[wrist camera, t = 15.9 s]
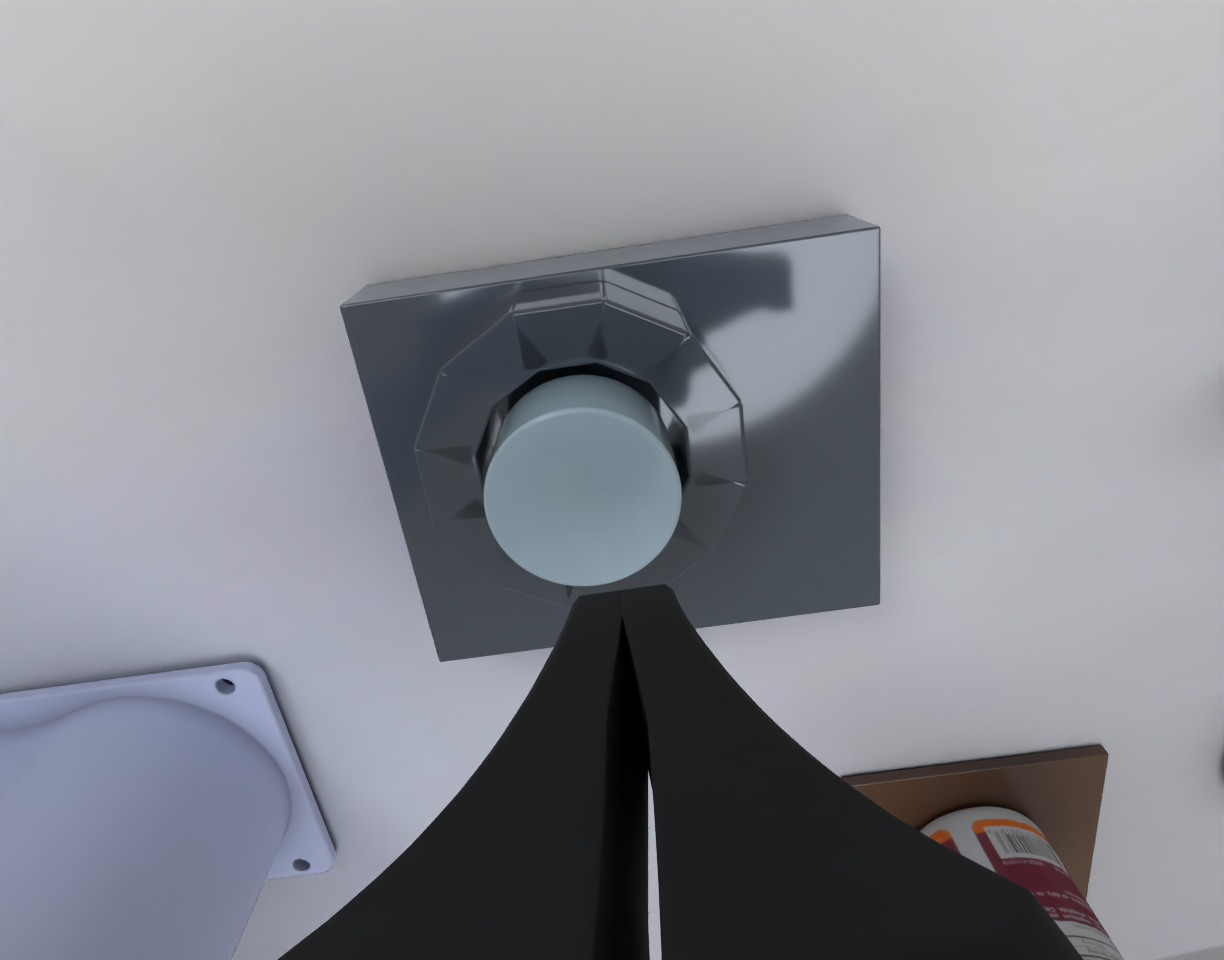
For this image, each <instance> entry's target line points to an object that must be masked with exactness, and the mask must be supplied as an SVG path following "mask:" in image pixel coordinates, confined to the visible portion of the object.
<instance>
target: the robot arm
mask: <svg viewBox="0 0 1224 960" xmlns="http://www.w3.org/2000/svg"><path fill="white" fill-rule="evenodd" d="M222 679H228V680H230V681H232V682H233V684H234V685H229V684H227V683H225V682H224V681H223V680H222ZM648 771H649V776H650V781H651V786H652V790H653V802H654V816H655V831H656V848H657V865H658V882H659V905H660V927H661V950H662V960H1084V959H1083V958H1082V957H1081V955H1080V954H1079V953H1078V951H1077V950H1076V949H1075V947H1074V946H1073V945H1072V943H1071V942H1070V941H1069V939H1068V938H1067V937H1066V935H1065V934H1064V933H1063V931H1062V930H1061V929H1060V928H1059V926H1058V925H1057V924H1056V922H1055V921H1054V920H1053V919H1052V917H1051V916H1050V915H1049V913H1048V912H1047V911H1046V910H1045V908H1044V907H1043V906H1042V905H1041V903H1040V902H1039V901H1038V900H1037V898H1036V897H1035V896H1034V895H1033V893H1032V892H1031V891H1029V890H1028V889H1026V888H1025V887H1023V886H1021V885H1019V884H1017V883H1015V882H1013V881H1011V880H1009V879H1007V878H1005V877H1003V876H1001V875H999V874H998V873H996V872H994V871H992V870H990V869H988V868H986V867H984V866H982V865H980V864H978V863H976V862H974V861H972V860H971V859H969V858H967V857H965V856H963V855H961V854H959V853H957V852H955V851H953V850H951V849H949V848H947V847H945V846H944V845H942V844H940V843H938V842H936V841H935V840H933V839H931V838H929V837H928V836H926V835H924V834H923V833H921V832H920V831H918V830H916V829H915V828H913V827H911V826H910V825H908V824H906V823H905V822H903V821H902V820H900V819H898V818H897V817H895V816H894V815H892V814H891V813H889V812H888V811H887V810H885V809H884V808H882V807H881V806H879V805H878V804H877V803H875V802H874V801H872V800H871V799H870V798H868V797H867V796H865V795H864V794H862V793H861V792H860V791H858V790H857V789H855V788H854V787H853V786H851V785H850V784H848V783H847V782H845V781H844V780H843V779H841V778H840V777H838V776H837V775H836V774H834V773H833V772H832V771H831V770H829V769H828V768H827V767H826V766H824V765H823V764H822V763H821V762H820V761H818V760H817V759H816V758H815V757H813V756H812V755H811V754H810V753H809V752H807V751H806V750H805V749H804V748H803V747H801V746H800V745H799V744H798V743H797V742H796V741H795V740H794V739H792V738H791V737H790V736H789V735H788V734H787V733H786V732H785V731H784V730H782V729H781V728H780V727H779V726H778V725H777V724H776V723H775V722H774V721H773V720H772V719H771V718H770V717H769V716H768V715H767V714H766V713H765V712H764V711H763V710H762V709H761V708H760V707H759V706H758V705H757V704H756V703H755V702H754V701H753V700H752V699H751V698H750V697H749V695H748V694H747V693H746V692H745V691H744V690H743V689H742V688H741V687H740V686H739V685H738V684H737V682H736V681H735V680H734V679H733V678H732V677H731V675H730V674H729V673H728V672H727V671H726V670H725V668H724V667H723V666H722V664H721V663H720V662H719V661H718V659H717V658H716V657H715V656H714V654H713V653H712V652H711V651H710V649H709V648H708V647H707V646H706V644H705V643H704V641H703V640H702V639H701V637H700V636H699V634H698V633H697V632H696V630H695V628H694V627H693V625H692V624H691V622H690V621H689V619H688V618H687V616H686V614H685V613H684V611H683V609H682V608H681V606H680V604H679V602H678V600H677V598H676V595H675V593H674V590H673V589H672V588H670V587H669V586H667V585H666V584H660V585H653V586H646V587H639V588H632V589H624V590H617V591H610V592H603V593H596V594H589V595H582V596H579V597H578V598H577V599H576V601H575V602H574V603H573V605H572V608H571V610H570V613H569V615H568V618H567V620H566V623H565V625H564V627H563V629H562V631H561V634H560V636H559V638H558V640H557V642H556V644H555V646H554V648H553V650H552V652H551V654H550V656H549V658H548V660H547V662H546V663H545V665H544V667H543V669H542V671H541V672H540V674H539V676H538V678H537V680H536V682H535V683H534V685H533V687H532V689H531V690H530V692H529V694H528V696H527V697H526V699H525V700H524V702H523V703H522V705H521V707H520V708H519V710H518V711H517V713H516V714H515V716H514V717H513V719H512V721H511V722H510V724H509V725H508V727H507V728H506V730H505V732H504V733H503V735H502V736H501V737H500V739H499V740H498V742H497V743H496V745H495V746H494V747H493V749H492V750H491V752H490V753H489V754H488V756H487V757H486V758H485V760H484V761H483V762H482V764H481V765H480V766H479V768H478V769H477V770H476V771H475V773H474V774H473V775H472V776H471V778H470V779H469V780H468V781H467V783H466V784H465V785H464V787H463V788H462V789H461V790H460V791H459V793H458V794H457V795H456V796H455V797H454V798H453V799H452V801H451V802H450V803H449V804H448V805H447V806H446V807H445V809H444V810H443V811H442V812H441V813H440V814H439V815H438V816H437V818H436V819H435V820H434V821H433V822H432V823H431V824H430V825H429V826H428V827H427V828H426V830H425V831H424V832H423V833H422V834H421V835H420V836H419V837H418V838H417V839H416V840H415V841H414V842H413V843H412V845H411V846H410V847H408V848H407V849H406V850H405V851H404V852H403V853H402V854H401V855H400V856H399V857H398V858H397V859H396V860H395V861H394V862H393V863H392V864H391V865H390V866H389V867H388V868H387V869H386V870H384V871H383V872H382V873H381V874H380V875H379V876H378V877H377V878H376V879H375V880H374V881H373V882H371V883H370V884H369V885H368V886H367V887H366V888H365V889H364V890H362V891H361V892H360V893H359V894H358V895H357V896H356V897H354V898H353V899H352V900H351V901H350V902H349V903H348V904H347V905H345V906H344V907H343V908H342V909H341V910H339V911H338V912H337V913H336V914H335V915H334V916H332V917H331V918H330V919H329V920H328V921H326V922H325V923H324V924H323V925H321V926H320V927H319V928H318V929H316V930H315V931H314V932H312V933H311V934H310V935H309V936H307V937H306V938H305V939H303V940H302V941H301V942H300V943H298V944H297V945H296V946H294V947H293V948H292V949H291V950H289V951H288V952H287V953H285V954H284V955H283V956H282V957H280V958H279V959H278V960H650V958H649V934H648ZM335 858H336V851H335V849H334V846H333V844H332V841H331V839H330V836H329V833H328V831H327V828H326V826H325V823H324V821H323V818H322V816H321V813H320V811H319V808H318V806H317V803H316V801H315V798H314V796H313V793H312V791H311V788H310V785H309V783H308V780H307V778H306V775H305V773H304V770H303V768H302V765H301V763H300V760H299V758H298V755H297V753H296V750H295V748H294V745H293V743H292V740H291V737H290V735H289V732H288V730H287V727H286V725H285V722H284V720H283V717H282V715H281V712H280V710H279V707H278V705H277V702H276V700H275V697H274V695H273V692H272V689H271V687H270V684H269V682H268V679H267V677H266V674H265V673H264V671H263V670H262V668H260V667H259V666H258V665H256V664H253V663H251V662H237V663H229V664H222V665H214V666H206V667H199V668H191V669H184V670H176V671H169V672H161V673H153V674H146V675H138V676H131V677H123V678H116V679H108V680H101V681H93V682H85V683H78V684H70V685H63V686H55V687H48V688H40V689H32V690H25V691H17V692H10V693H2V694H0V960H231V959H232V957H233V955H234V952H235V950H236V948H237V945H238V943H239V940H240V938H241V936H242V933H243V931H244V929H245V926H246V924H247V922H248V919H249V917H250V914H251V912H252V910H253V907H254V905H255V903H256V900H257V898H258V896H259V893H260V891H261V889H262V886H263V884H264V881H265V880H269V879H277V878H286V877H294V876H302V875H310V874H318V873H323V872H327V871H329V870H330V869H331V868H332V866H333V864H334V861H335ZM302 859H304V860H302Z"/></svg>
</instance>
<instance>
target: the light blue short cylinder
mask: <svg viewBox="0 0 1224 960" xmlns="http://www.w3.org/2000/svg"><path fill="white" fill-rule="evenodd" d="M483 503H484V509H485V515H486V518H487V522H488V525H489V527H490V529H491V531H492V534H493V536H494V537H495V539H496V540H497V542H498V544H499V545H500V547H501V548H502V549H503V550H504V551H505V552H506V554H507V555H508V556H509V557H510V558H511V559H512V560H514V561H515V562H516V563H517V564H518V565H520V566H521V567H522V568H524V569H525V570H527V571H528V572H530V573H532V574H534V575H536V576H538V577H540V578H543V579H545V580H548V581H551V582H555V583H558V584H563V585H570V586H597V585H602V584H608V583H611V582H615V581H618V580H621V579H623V578H625V577H628V576H630V575H632V574H634V573H636V572H637V571H639V570H641V569H642V568H644V567H645V566H646V565H647V564H649V563H650V562H651V561H652V560H653V559H654V558H655V557H656V556H657V555H658V554H659V553H660V552H661V551H662V550H663V548H664V547H665V546H666V545H667V543H668V542H669V540H670V538H671V536H672V535H673V533H674V531H675V528H676V526H677V523H678V520H679V516H680V512H681V505H682V486H681V481H680V476H679V472H678V468H677V464H676V460H675V456H674V452H673V448H672V444H671V440H670V436H669V434H668V431H667V428H666V426H665V424H664V422H663V420H662V418H661V416H660V415H659V413H658V412H657V410H656V409H655V408H654V407H653V405H652V404H651V403H650V402H649V401H648V400H647V399H646V398H645V397H643V396H642V395H641V394H640V393H639V392H637V391H635V390H634V389H632V388H631V387H629V386H627V385H625V384H623V383H621V382H618V381H616V380H613V379H609V378H606V377H601V376H595V375H571V376H565V377H560V378H556V379H554V380H551V381H548V382H545V383H543V384H541V385H539V386H537V387H535V388H534V389H532V390H531V391H529V392H528V393H526V394H525V395H524V396H523V397H522V398H521V399H520V400H518V401H517V402H516V404H515V405H514V406H513V407H512V408H511V409H510V411H509V412H508V414H507V415H506V417H505V419H504V420H503V422H502V425H501V427H500V429H499V432H498V435H497V439H496V442H495V446H494V449H493V453H492V456H491V460H490V463H489V467H488V470H487V474H486V477H485V483H484V490H483Z"/></svg>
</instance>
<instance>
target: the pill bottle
mask: <svg viewBox="0 0 1224 960" xmlns="http://www.w3.org/2000/svg"><path fill="white" fill-rule="evenodd" d="M920 832H921V833H923V834H924V835H926V836H928V837H929V838H931V839H933V840H935V841H936V842H938V843H940V844H942V845H944V846H945V847H947V848H949V849H951V850H953V851H955V852H957V853H959V854H961V855H963V856H965V857H967V858H969V859H971V860H972V861H974V862H976V863H978V864H980V865H982V866H984V867H986V868H988V869H990V870H992V871H994V872H996V873H998V874H999V875H1001V876H1003V877H1005V878H1007V879H1009V880H1011V881H1013V882H1015V883H1017V884H1019V885H1021V886H1023V887H1025V888H1026V889H1028V890H1029V891H1031V892H1032V893H1033V895H1034V896H1035V897H1036V898H1037V900H1038V901H1039V902H1040V903H1041V905H1042V906H1043V907H1044V908H1045V910H1046V911H1047V912H1048V913H1049V915H1050V916H1051V917H1052V919H1053V920H1054V921H1055V922H1056V924H1057V925H1058V926H1059V928H1060V929H1061V930H1062V931H1063V933H1064V934H1065V935H1066V937H1067V938H1068V939H1069V941H1070V942H1071V943H1072V945H1073V946H1074V947H1075V949H1076V950H1077V951H1078V953H1079V954H1080V955H1081V957H1082V958H1083V959H1084V960H1124V959H1123V957H1122V956H1121V954H1120V953H1119V951H1118V950H1117V948H1116V946H1115V945H1114V943H1113V942H1112V940H1111V939H1110V937H1109V936H1108V934H1107V932H1106V931H1105V929H1104V928H1103V926H1102V925H1101V924H1100V922H1099V921H1098V919H1097V917H1096V916H1095V914H1094V912H1093V911H1092V909H1091V908H1090V906H1089V904H1088V903H1087V901H1086V899H1085V898H1084V896H1083V895H1082V894H1081V892H1080V891H1079V889H1078V888H1077V886H1076V884H1075V883H1074V881H1073V879H1072V877H1071V876H1070V874H1069V873H1068V872H1067V870H1066V868H1065V867H1064V865H1063V864H1062V862H1061V861H1060V859H1059V857H1058V856H1057V854H1056V853H1055V852H1054V850H1053V849H1052V847H1051V845H1050V844H1049V843H1048V841H1047V839H1046V838H1045V836H1044V835H1043V833H1042V832H1041V830H1040V829H1039V828H1038V827H1037V826H1036V825H1035V824H1034V823H1033V822H1032V821H1031V820H1030V819H1028V818H1027V817H1025V816H1024V815H1022V814H1020V813H1018V812H1016V811H1012V810H1009V809H1005V808H999V807H990V806H986V807H974V808H967V809H963V810H959V811H955V812H952V813H949V814H946V815H944V816H941V817H939V818H937V819H935V820H933V821H932V822H930V823H929V824H927V825H926V826H925V827H923V828H922V829H921V830H920Z"/></svg>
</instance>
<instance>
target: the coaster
mask: <svg viewBox="0 0 1224 960" xmlns="http://www.w3.org/2000/svg"><path fill="white" fill-rule="evenodd" d="M1107 761H1108V753H1107V751H1106V750H1105V749H1104V748H1103V746H1101V745H1099V746H1091V747H1083V748H1075V749H1067V750H1059V751H1051V752H1043V753H1035V754H1027V755H1019V756H1010V757H1002V758H994V759H986V760H978V761H970V762H962V763H954V764H946V765H938V766H930V767H922V768H914V769H906V770H898V771H890V772H882V773H874V774H865V775H857V776H849V777H842V779H843V780H844V781H845V782H847V783H848V784H850V785H851V786H853V787H854V788H855V789H857V790H858V791H860V792H861V793H862V794H864V795H865V796H867V797H868V798H870V799H871V800H872V801H874V802H875V803H877V804H878V805H879V806H881V807H882V808H884V809H885V810H887V811H888V812H889V813H891V814H892V815H894V816H895V817H897V818H898V819H900V820H902V821H903V822H905V823H906V824H908V825H910V826H911V827H913V828H915V829H916V830H918V831H920V830H921V829H922V828H923V827H925V826H926V825H927V824H929V823H930V822H932V821H933V820H935V819H937V818H939V817H941V816H944V815H946V814H949V813H952V812H955V811H959V810H963V809H967V808H974V807H986V806H990V807H999V808H1005V809H1009V810H1012V811H1016V812H1018V813H1020V814H1022V815H1024V816H1025V817H1027V818H1028V819H1030V820H1031V821H1032V822H1033V823H1034V824H1035V825H1036V826H1037V827H1038V828H1039V829H1040V830H1041V832H1042V833H1043V835H1044V836H1045V838H1046V839H1047V841H1048V843H1049V844H1050V845H1051V847H1052V849H1053V850H1054V852H1055V853H1056V854H1057V856H1058V857H1059V859H1060V861H1061V862H1062V864H1063V865H1064V867H1065V868H1066V870H1067V872H1068V873H1069V874H1070V876H1071V877H1072V879H1073V881H1074V883H1075V884H1076V886H1077V888H1078V889H1079V891H1080V892H1081V894H1082V895H1083V896H1084V898H1085V899H1086V896H1087V889H1088V883H1089V877H1090V870H1091V864H1092V857H1093V851H1094V845H1095V838H1096V832H1097V825H1098V819H1099V812H1100V806H1101V800H1102V793H1103V787H1104V780H1105V774H1106V768H1107Z"/></svg>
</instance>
